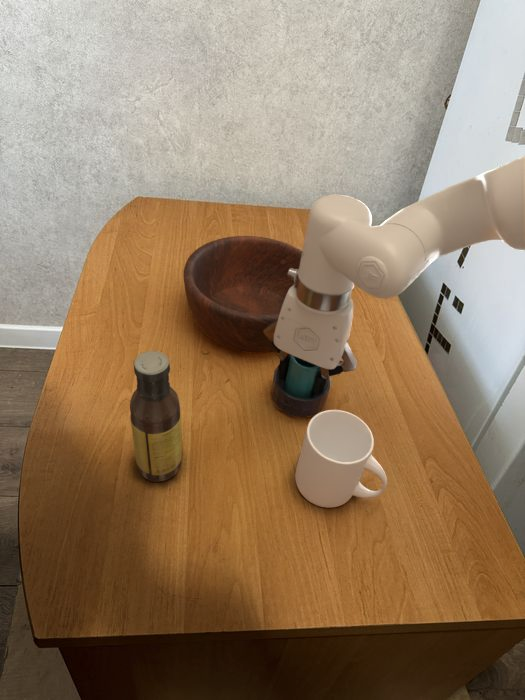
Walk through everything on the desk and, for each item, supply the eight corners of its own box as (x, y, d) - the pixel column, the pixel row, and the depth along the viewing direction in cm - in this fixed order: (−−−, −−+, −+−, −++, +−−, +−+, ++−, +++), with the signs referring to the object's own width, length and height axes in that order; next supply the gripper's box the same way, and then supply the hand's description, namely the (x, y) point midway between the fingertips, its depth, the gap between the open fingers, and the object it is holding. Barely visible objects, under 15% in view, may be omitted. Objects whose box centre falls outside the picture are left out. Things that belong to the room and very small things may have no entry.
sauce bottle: (188, 453, 75) (191, 352, 62) (171, 489, 71) (170, 389, 57) (146, 440, 76) (140, 338, 63) (126, 476, 72) (115, 373, 58)
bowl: (333, 391, 87) (338, 372, 84) (312, 428, 81) (317, 409, 78) (284, 370, 90) (288, 351, 87) (260, 404, 84) (263, 385, 80)
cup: (318, 389, 86) (328, 354, 80) (306, 409, 82) (316, 374, 77) (290, 377, 87) (298, 341, 82) (278, 396, 84) (285, 360, 78)
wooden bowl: (232, 385, 86) (237, 338, 79) (158, 300, 100) (157, 254, 93) (343, 335, 98) (356, 291, 91) (264, 266, 112) (270, 223, 105)
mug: (362, 535, 69) (384, 490, 62) (282, 489, 73) (295, 441, 65) (385, 487, 75) (408, 441, 68) (310, 447, 78) (324, 399, 71)
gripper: (254, 280, 70) (242, 375, 83) (375, 327, 66) (343, 420, 78) (278, 254, 75) (263, 347, 88) (392, 297, 71) (359, 388, 83)
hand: (301, 381), depth 83 cm, fingers closed on cup, 5 cm apart
